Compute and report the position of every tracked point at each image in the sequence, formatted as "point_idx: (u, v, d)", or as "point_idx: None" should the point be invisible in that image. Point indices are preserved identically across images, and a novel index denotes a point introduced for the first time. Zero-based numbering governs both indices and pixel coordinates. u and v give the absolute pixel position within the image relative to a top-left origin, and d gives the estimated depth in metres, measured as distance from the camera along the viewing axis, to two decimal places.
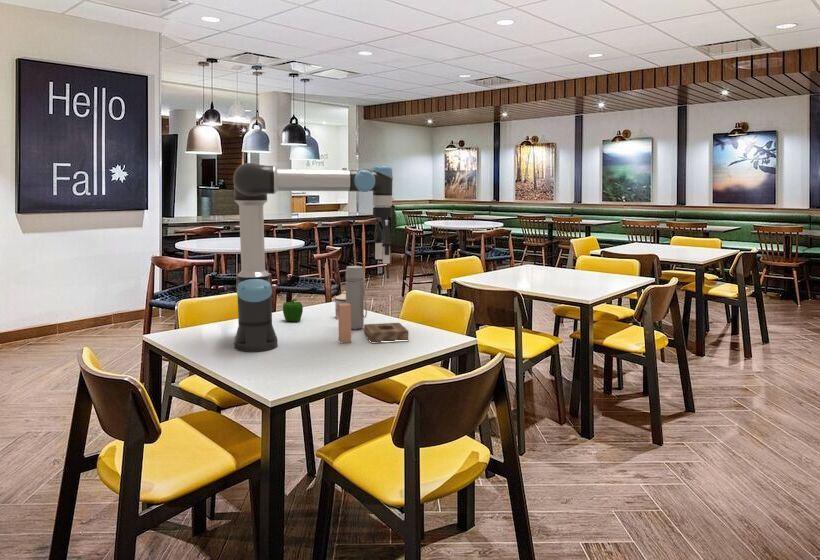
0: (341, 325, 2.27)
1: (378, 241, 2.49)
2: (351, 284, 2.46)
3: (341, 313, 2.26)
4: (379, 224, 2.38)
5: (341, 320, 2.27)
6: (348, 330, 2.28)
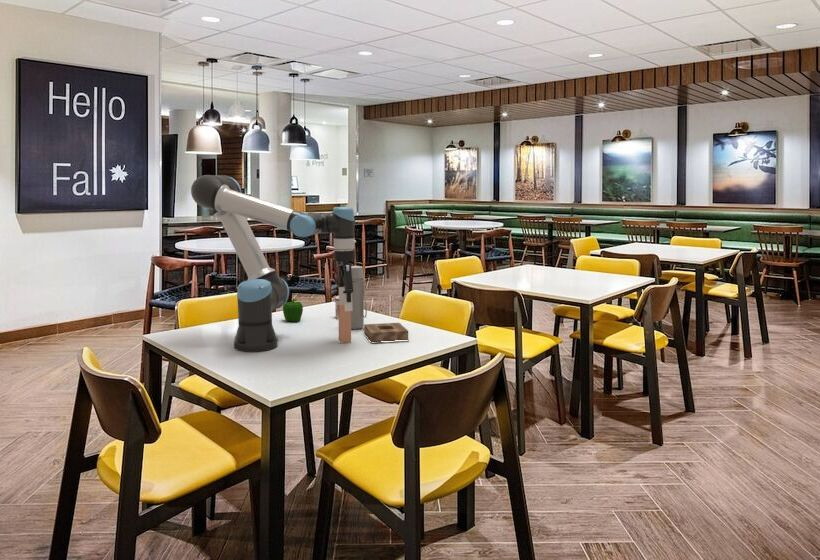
0: (341, 325, 2.27)
1: (342, 285, 2.34)
2: None
3: (341, 313, 2.26)
4: (341, 269, 2.23)
5: (341, 320, 2.27)
6: (348, 330, 2.28)
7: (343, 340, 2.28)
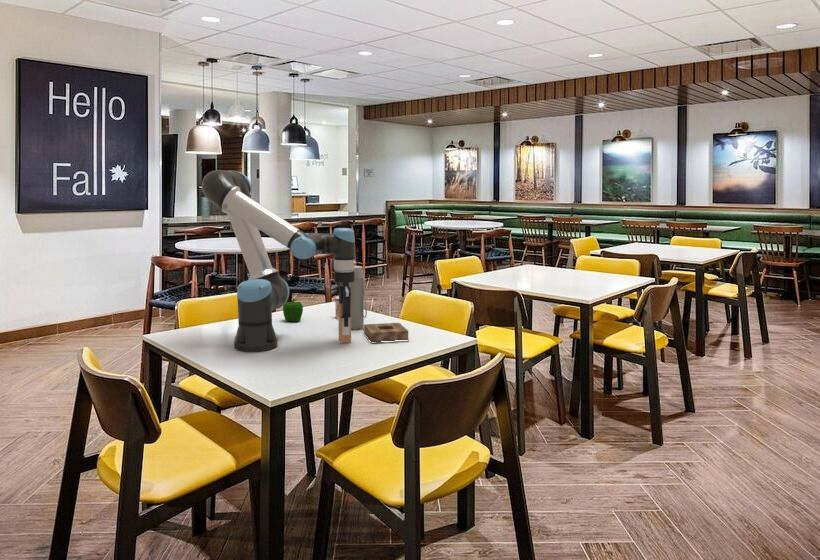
0: (341, 325, 2.27)
1: None
2: (351, 284, 2.46)
3: (341, 313, 2.26)
4: (340, 291, 2.25)
5: (341, 320, 2.27)
6: None
7: (343, 340, 2.28)
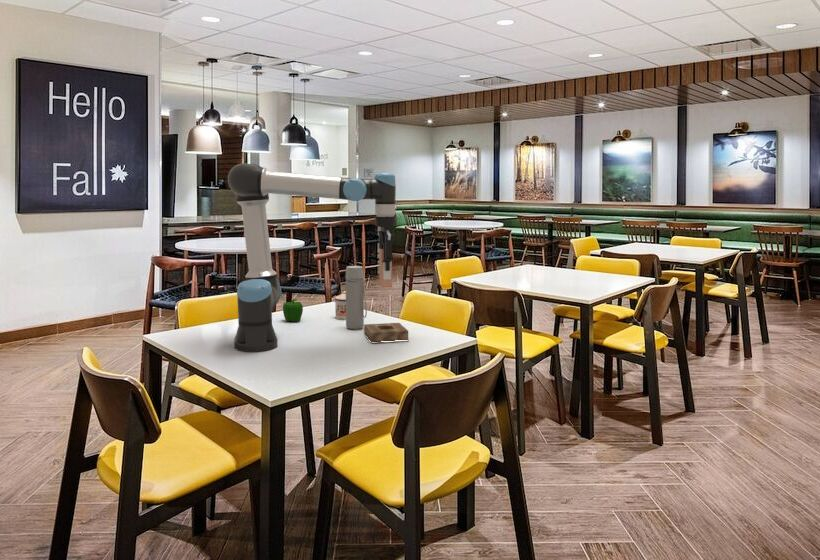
0: (382, 269, 2.30)
1: None
2: (351, 284, 2.46)
3: (382, 257, 2.29)
4: (382, 235, 2.28)
5: (382, 264, 2.29)
6: None
7: (384, 284, 2.31)
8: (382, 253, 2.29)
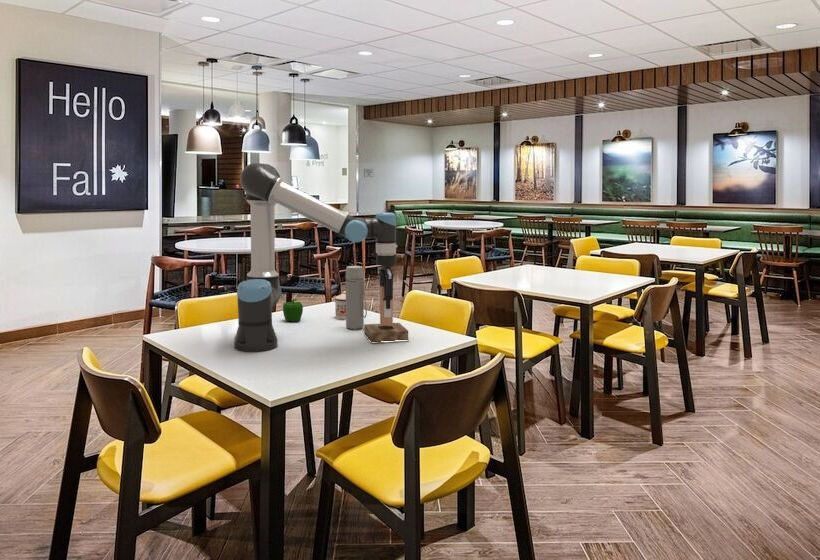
0: (383, 307, 2.32)
1: None
2: (351, 284, 2.46)
3: (383, 295, 2.31)
4: (382, 274, 2.30)
5: (383, 302, 2.32)
6: None
7: (385, 322, 2.33)
8: (383, 291, 2.31)
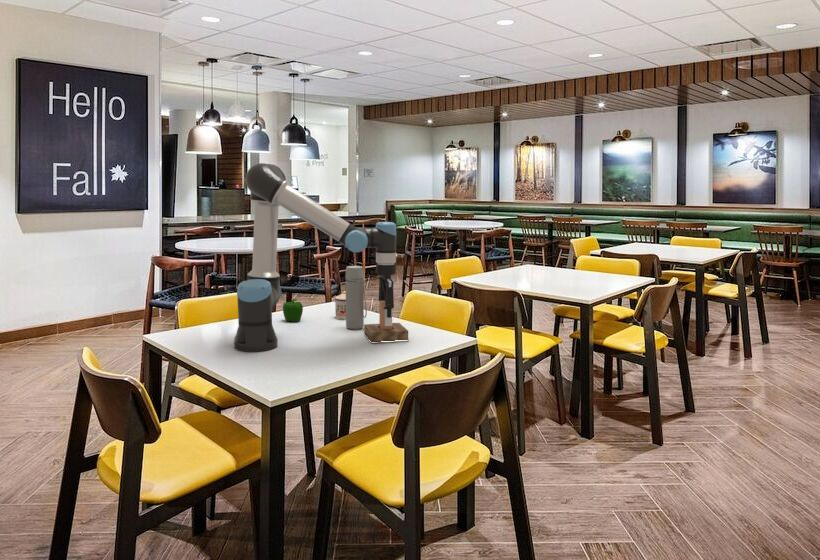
0: (383, 321, 2.33)
1: None
2: (351, 284, 2.46)
3: (383, 309, 2.33)
4: (382, 283, 2.30)
5: (383, 316, 2.33)
6: (389, 326, 2.34)
7: None
8: (382, 305, 2.32)
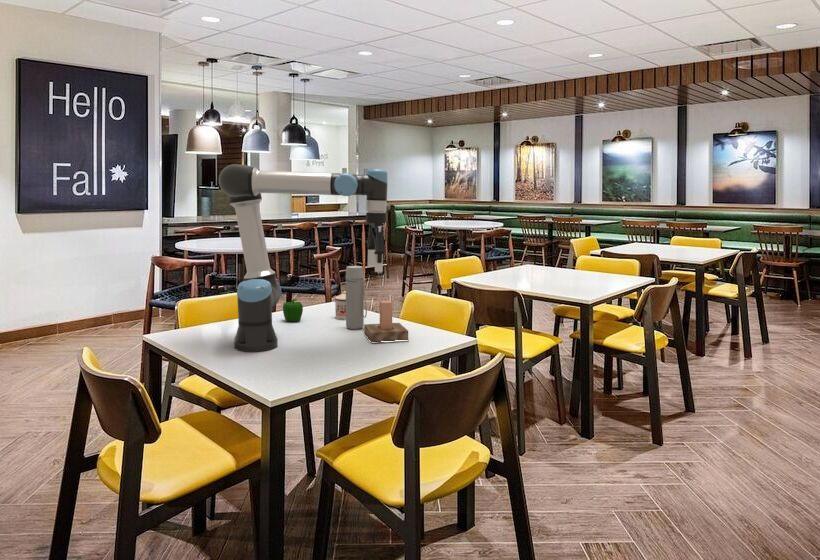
0: (383, 322, 2.33)
1: (371, 248, 2.38)
2: (351, 284, 2.46)
3: (383, 310, 2.32)
4: (372, 230, 2.27)
5: (383, 317, 2.33)
6: (389, 327, 2.34)
7: None
8: (383, 306, 2.32)
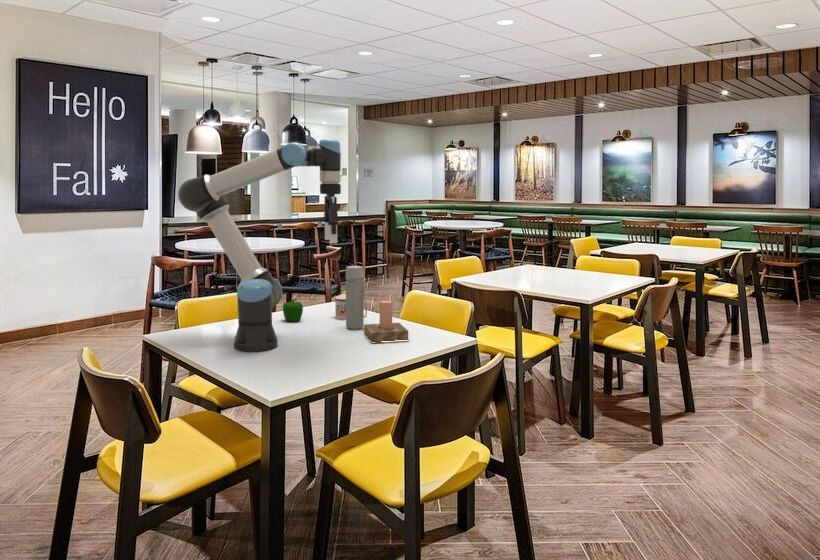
0: (383, 322, 2.33)
1: (328, 220, 2.35)
2: (351, 284, 2.46)
3: (383, 310, 2.32)
4: (326, 201, 2.24)
5: (383, 317, 2.33)
6: (389, 327, 2.34)
7: None
8: (383, 306, 2.32)
